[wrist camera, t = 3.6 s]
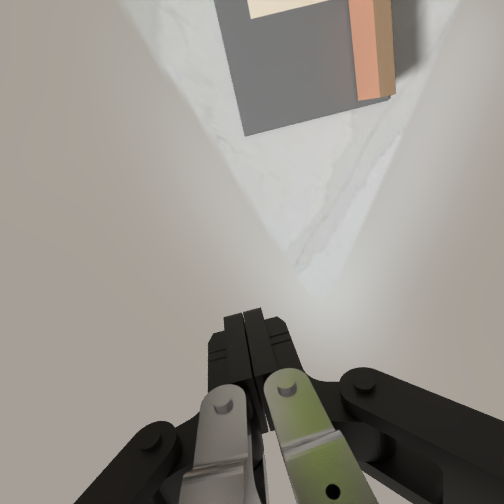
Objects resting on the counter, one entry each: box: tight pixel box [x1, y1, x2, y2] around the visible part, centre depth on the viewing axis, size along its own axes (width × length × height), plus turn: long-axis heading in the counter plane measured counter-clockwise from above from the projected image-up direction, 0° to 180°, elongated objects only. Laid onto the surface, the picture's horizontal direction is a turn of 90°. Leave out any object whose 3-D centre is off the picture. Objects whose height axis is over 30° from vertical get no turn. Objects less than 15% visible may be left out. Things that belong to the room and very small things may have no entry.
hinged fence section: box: [348, 0, 396, 101], centre depth 31 cm, size 9×1×6 cm, turn 13°
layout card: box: [214, 0, 389, 136], centre depth 32 cm, size 21×16×1 cm
